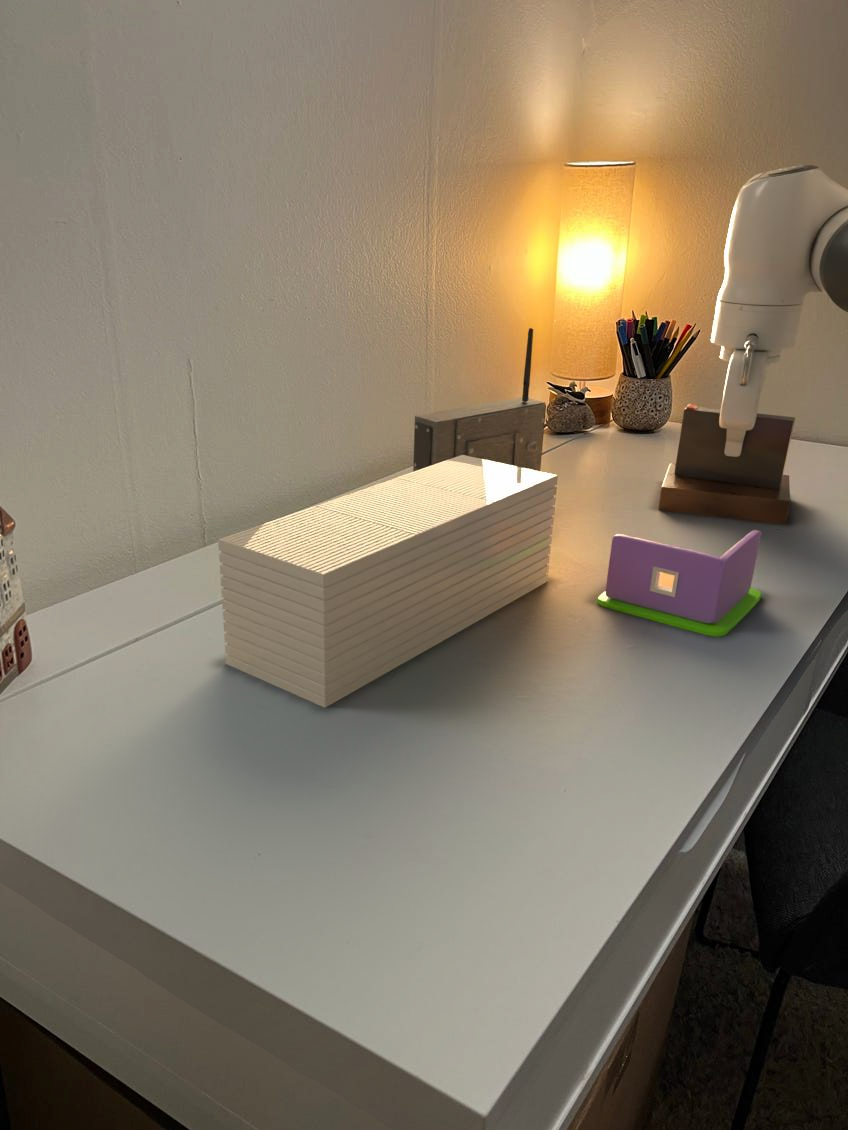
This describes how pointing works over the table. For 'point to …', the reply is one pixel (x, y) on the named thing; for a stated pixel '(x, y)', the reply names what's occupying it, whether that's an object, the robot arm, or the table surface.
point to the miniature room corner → (682, 583)
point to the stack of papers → (382, 573)
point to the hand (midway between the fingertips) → (733, 451)
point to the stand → (724, 498)
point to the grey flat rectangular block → (752, 467)
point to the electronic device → (485, 430)
